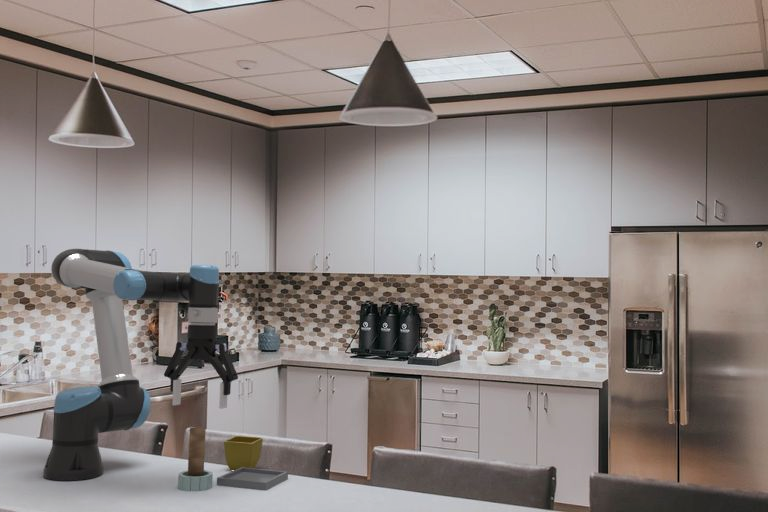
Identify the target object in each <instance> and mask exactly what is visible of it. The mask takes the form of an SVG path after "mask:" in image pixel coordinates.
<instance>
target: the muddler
mask: <svg viewBox="0 0 768 512" xmlns="http://www.w3.org/2000/svg"><path fill="white" fill-rule="evenodd" d="M206 429H207V428H206V427H202V426H192V427H189V435H188V436H189V438H188V440H189V441H188V458H187V460H188V461H187V471H188V476H192V477H195V476H204V470H205V451H206V449H205V448H206Z"/></svg>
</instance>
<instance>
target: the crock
mask: <svg viewBox="0 0 768 512" xmlns="http://www.w3.org/2000/svg"><path fill="white" fill-rule="evenodd" d="M213 476H214V475H213V472H212V471H210V470H205V469H204V476H195V477H192V476H188V470H184V471H180V472H179V473H178V482H177V489H178V490H180V491H183V492H184V491H185V492H202V491H208V490H211V489H212V488H213Z"/></svg>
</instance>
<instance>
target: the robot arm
mask: <svg viewBox="0 0 768 512" xmlns="http://www.w3.org/2000/svg"><path fill="white" fill-rule="evenodd" d="M50 268H51V269H50V270H51V274H52V277H53V278H54V281H55V282H57V283H58V284H59V285H61V286H63V287H65V288H73V289H82V290H83V289H84V292H85V298H86V299H88V300H89V301H90V302H91V305H92V313H93V321H94V327H95V329H94V330H95V338H96V345H97V346H96V347H97V353H98V360H99V361H98V362H99V370H100V376H101V377H100V378H101V381H100V382H99V384H97V385H95V386H93V385H87V386H77V387H71V388H67V389H64V390H61V391H60V392H58V393H57V394H56V396H55V398H54V406H53V409H52V411H53V424H52V425H53V427H52V441H51V442H52V444H51V449H50V452H49V454H48V457H47V460H46V463H45V465H44V467H43V477H44V478H45V479H47V480H53V481H80V480H81V481H82V480H89V479H94V478H97V477H100V476H102V475H103V473H104V464H103V461H102V456H101V452H100V448H99V434H100V433H109V432H110V433H111V432H117V431H129V430H132V429H137V428H140V427H142V426H143V424H144V423H145V422H146V421H147V419H148V416H149V415H150V412H151V395H150V394H149V392H148V391H147V389H146V388H144V387H142V386H140V380H139V378H138V377H136V376H134V375H133V369H132V361H131V353H130V347H129V338H128V332H127V325H126V318H125V317H126V316H125V309H124V303H123V300H127V301H166V302H167V301H168V302H179V301H180V302H188V312H187V313H188V314H187V316H188V318H187V319H188V320H187V322H188V323H189V324H188V326H187V336H186V337H187V342H185V341H177V342H176V344H175V351H174V353H173V355H172V356H171V358H170V361H169V362H168V365H167V367H166V369H165V371H164V373H163V375H164V377H165V378H168V379H170V393H172V403H171V404H172V406H179V405H181V402H182V401H181V399H182V379H180V377H181V376H182V374H184V372H185V371H186V369H187V368H188V367H189V366H190V365H191V364H192V362H193V361H199V360H200V361H207V362H209V363H210V365H212V367H213V369H214V371H215V372H216V373H217V374H218V376H219V377H220V379H221V380H222V382H220V383H219V406H218V407H219V408H218V409H219V410H220V409H226V408H228V396H229V395H230V394H231V387H232V386H231V385H232V382H233V381H236V380H238V379H239V376H238V373H237V369H236V368H235V366H234V363H233V361H232V358H231V355H230V353H229V348H228V343H220V344H217V339H218V326H217V325H216V324H217V323H218V322H219V321H218V320H219V319H218V315H219V314H218V313H219V309H218V308H219V293H220V292H219V290H220V282H221V281H220V270H219V268H218V266H216V265H210V264H209V265H208V264H193V265H191V266H190V267H189V272H169V271H168V272H166V271H165V272H164V271H148V270H140V269H134V268H132V265H131V262H130V260H129V258H128V257H127V256H125V254H123V253H121V252H119V251H114V250H113V251H112V250H98V249H88V248H87V249H83V248H70V249H66V250H64V251H61V252H60V253H58V254H57V255H56V256H55V258H54V260H53V261H52V263H51V267H50ZM186 350H187V353H186V355H185V356H184V358H183V359H182V356H183V355H184V353H185V351H186ZM216 351H218V353H219V355H220V358H221V361H222V362H221V361H220V360H219V357H218V355H217V354H216ZM181 359H182V360H181ZM180 361H181V362H180Z"/></svg>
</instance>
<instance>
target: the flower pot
mask: <svg viewBox="0 0 768 512" xmlns="http://www.w3.org/2000/svg"><path fill="white" fill-rule="evenodd" d="M263 439H264V437H258V436H257V437H256V436H254V437H253V436H245V435H244V436H241V435H234V436H233V437H231V438H228V439H225V440H224V441H223V444H224V445H223V446H224V456H225V461H226V464H227V466H228V469H230V471H231V470H236V469H239V468H241V467H245V468H255V469H256V466H257V464H258V463H259V460H260V457H261V453H262V448H263V447H262V446H263Z"/></svg>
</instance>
